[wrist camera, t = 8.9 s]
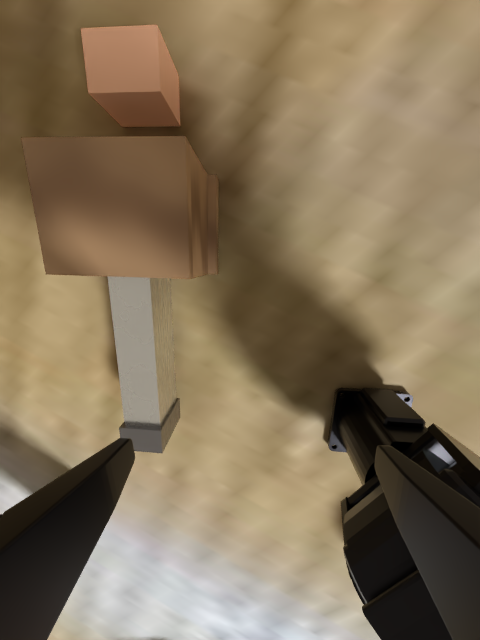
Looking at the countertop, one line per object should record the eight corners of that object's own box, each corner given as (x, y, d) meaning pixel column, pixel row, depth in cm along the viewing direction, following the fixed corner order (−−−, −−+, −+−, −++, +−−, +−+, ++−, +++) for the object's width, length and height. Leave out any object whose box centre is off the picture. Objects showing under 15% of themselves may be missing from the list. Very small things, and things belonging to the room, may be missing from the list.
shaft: (180, 417, 22) (162, 453, 17) (147, 414, 22) (121, 449, 18) (170, 208, 17) (143, 191, 13) (129, 207, 17) (89, 191, 13)
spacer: (160, 91, 13) (157, 24, 12) (88, 93, 14) (80, 27, 13) (180, 126, 17) (179, 76, 16) (122, 127, 17) (118, 78, 16)
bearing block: (218, 273, 19) (200, 279, 13) (103, 270, 20) (35, 274, 14) (218, 179, 17) (198, 135, 11) (92, 178, 18) (9, 137, 12)
